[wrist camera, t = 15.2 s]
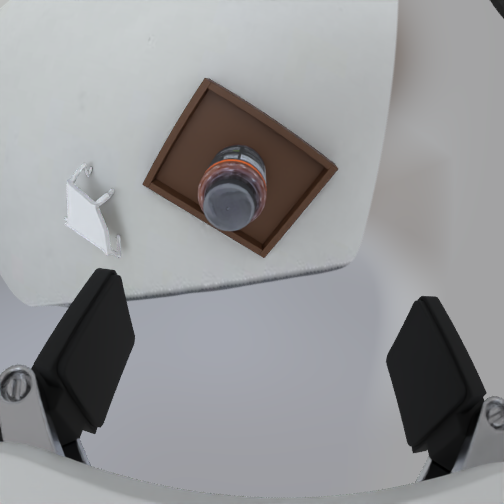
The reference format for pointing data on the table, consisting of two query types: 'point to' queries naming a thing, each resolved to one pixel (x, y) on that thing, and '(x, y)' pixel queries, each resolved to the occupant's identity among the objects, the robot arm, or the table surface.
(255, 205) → the supplement bottle
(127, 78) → the table surface
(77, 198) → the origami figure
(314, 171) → the serving tray
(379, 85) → the table surface
